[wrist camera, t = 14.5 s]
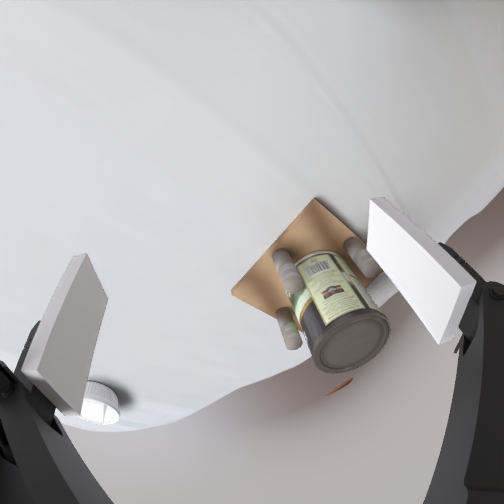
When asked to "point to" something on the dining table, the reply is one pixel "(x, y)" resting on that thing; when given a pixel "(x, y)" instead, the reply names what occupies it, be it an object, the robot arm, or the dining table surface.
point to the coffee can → (337, 314)
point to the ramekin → (99, 404)
